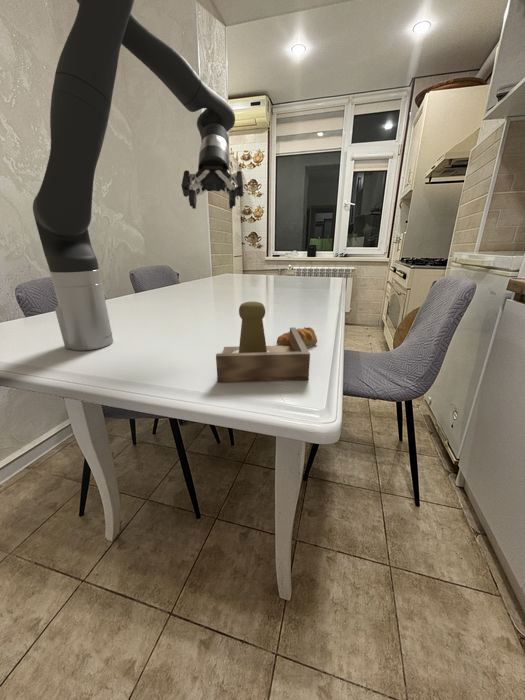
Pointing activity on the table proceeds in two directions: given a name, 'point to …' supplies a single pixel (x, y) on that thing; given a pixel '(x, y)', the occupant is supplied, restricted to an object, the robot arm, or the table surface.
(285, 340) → the pastry
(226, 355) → the corner tray
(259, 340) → the cork
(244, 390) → the table surface
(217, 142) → the robot arm
